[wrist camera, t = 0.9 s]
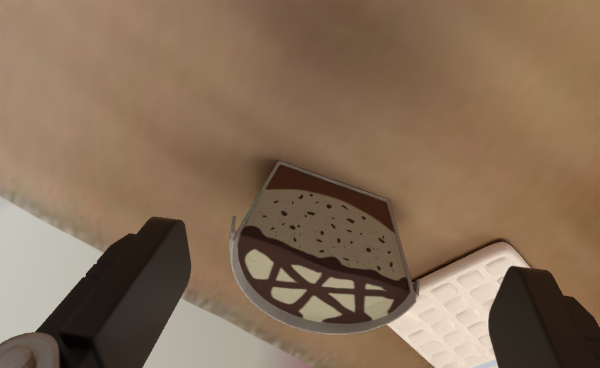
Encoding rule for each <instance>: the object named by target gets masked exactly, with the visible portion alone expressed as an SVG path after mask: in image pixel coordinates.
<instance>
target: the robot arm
mask: <svg viewBox="0 0 600 368" xmlns="http://www.w3.org/2000/svg"><path fill="white" fill-rule="evenodd" d="M190 273H191V261H190V254H189V248H188V241H187V235H186V229H185V224H184V222H183V221H182V220H176V219H169V218H161V217H151V218H150V219H149V220H148V221H147V222H146V223H145V225H144V226H143V227H142V228H141V230H140V231H139V232H138V233H137V234H130V233H129V234H128V235H126V236H125V237H123V238H121V239H120V240H118V241H117V242H115V243H114V244H112V245H111V246H110V247H109V248H108V249H107V250H106V251H105V252H104V254H103V255H102V256H101V257H100V258H99V259H98V260H97V264H94V265H93V267H92V268H91V269H90V270H89V271H88V272H87V273H86V277H83V278H82V279H81V280H80V281H79V282H78V284H77V285H76V286H75V287H74V288H73V289H72V290H71V292H70V293H69V294H68V295H67V296H66V297H65V299H64V300H63V301H62V302H61V303H60V304H59V305H58V307H57V308H56V309H55V310H54V311H53V313H52V314H51V315H50V316H49V317H48V318H47V319H46V321H45V322H44V323H43V324H42V325H41V326H40V327H39V328H38V329H37V330H36V331H35V332H32V333H25V334H22V335H18V336H15V337H12V338H10V339H8V340H6V341H4V342H2V343H1V344H0V368H142V367H143V366H144V364H145V362H146V360H147V358H148V356H149V354H150V353H151V351H152V349H153V347H154V345H155V343H156V342H157V340H158V338H159V336H160V334H161V333H162V331H163V329H164V327H165V325H166V323H167V322H168V320H169V318H170V316H171V314H172V312H173V311H174V309H175V307H176V305H177V303H178V302H179V299H180V298H181V296H182V294H183V292H184V291H185V289H186V287H187V284H188V282H189V278H190ZM488 330H489V336H490V340H491V343H492V347H493V350H494V354H495V357H496V361H497V365H498V368H600V327H599V326H598V324H597V322H596V320H595V319H594V317H593V316H592V315H591V314H590V313H589V312H588V311H587V310H586V309H585V308H584V307H583V306H582V305H581V304H580V303H579V302H578V301H577V300H575V299H574V298H573V297H569V296H563V294H562V292H561V290H560V289H559V287H558V285H557V283H556V281H555V279H554V277H553V275H552V274H551V273H550V272H549V271H547V270H541V269H533V268H526V267H519V266H511V267H509V268H508V270H507V272H506V274H505V276H504V278H503V281H502V283H501V285H500V288H499V290H498V292H497V295H496V297H495V299H494V302H493V304H492V306H491V309H490V312H489V318H488Z"/></svg>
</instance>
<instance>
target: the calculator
mask: <svg viewBox="0 0 600 368" xmlns="http://www.w3.org/2000/svg"><path fill="white" fill-rule="evenodd" d="M511 266H519V267H526V268H530V267H529V265H528V264H527V263H526V262H525V261H524V259H523V258H522V257H521V256H520V255H519V253H518V252H517V251H516V250H515V249H514V248H513V247H512V246H511V245H509V244H508V243H505V242H498V243H494V244H491V245H489V246H487V247H485V248H483V249H480V250H478V251H476V252H474V253H472V254H470V255H468V256H466V257H464V258H462V259H460V260H458V261H456V262H454V263H452V264H450V265H448V266H446V267H443V268H441V269H439V270H437V271H435V272H433V273H431V274H429V275H427V276H425V277H423V278H421V279H420V286H419V296H418V297H417V298H416V303H415V304H414V306H413V307H412V308H411V309H410V310H409V311H407V312H406V313H405V314H404V315H402V316H401V317H400V318H398V319H396V320H394V321H393V322H391V323H389V324H387V325H388V326H389V327H390V328H391V329H393V330H394V331H395V332H396V333H397V334H398V335H399V336H400V337H401V338H403V339H404V340H405V341H406V342H407V343H408V344H409V345H410V346H411V347H413V348H414V349H415V350H416V351H417V352H418V353H419V354H420V355H421V356H423V357H424V358H425V359H426V360H427V361H428V362H429V363H430V364H432V365H433V366H434V367H435V368H498V365H497V361H496V357H495V354H494V350H493V347H492V343H491V340H490V336H489V330H488V318H489V312H490V309H491V306H492V304H493V302H494V299H495V297H496V295H497V292H498V290H499V288H500V285H501V283H502V281H503V278H504V276H505V274H506V272H507V270H508V268H509V267H511ZM413 283H414V282H413ZM413 283H412V284H413Z"/></svg>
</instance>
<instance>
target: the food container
mask: <svg viewBox="0 0 600 368" xmlns="http://www.w3.org/2000/svg"><path fill="white" fill-rule="evenodd" d="M235 220H236V216H233V219H232V224H231V232H230V241H229V255H230V260H231V265H232V270H233V274H234V276H235V279H236V281H237V283H238V285H239V287H240V288H241V290H242V291H243V293H244V294H245V295H246V296H247V298H248V299H249V300H250V301H251V302H252V303H253V304H254V305H255V306H256V307H258V308H259V309H260V310H261V311H263V312H264V313H266V314H267V315H269V316H270V317H272V318H274V319H276V320H277V321H279V322H281V323H283V324H286V325H289V326H291V327H294V328H297V329H300V330H304V331H308V332H314V333H320V334H332V335H343V334H355V333H362V332H366V331H370V330H374V329H377V328H379V327H382V326H385V325H387V324H389V323H391V322H393V321H394V320H396V319H398V318H400V317H401V316H402V315H404V314H405V313H406V312H407V311H409V310H410V309H411V308H412V307H413V306H414V304H415V303H416V298H417V297H418V296H419V286H420V279H417V280H416V281H415V282H414V283H413V284H412V281H411V277H410V273H409V270H408V266H407V263H406V259H405V255H404V252H403V248H402V244H401V241H400V237H399V234H398V230H397V226H396V223H395V219H394V215H393V212H392V208H391V204H390V201H389V200H388V199H386V198H383V197H380V196H377V195H374V194H372V193H369V192H366V191H363V190H360V189H358V188H355V187H352V186H349V185H346V184H344V183H341V182H338V181H335V180H332V179H330V178H327V177H324V176H321V175H318V174H316V173H313V172H310V171H307V170H304V169H302V168H299V167H296V166H293V165H290V164H288V163H285V162H282V161H279V160H278V162H277V163H276V165H275V167H274V168H273V170H272V172H271V174H270V175H269V177H268V179H267V180H266V182H265V184H264V186H263V187H262V189H261V191H260V192H259V194H258V196H257V197H256V199H255V201H254V203H253V204H252V206H251V208H250V209H249V211H248V213H247V215H246V216H245V218H244V220H243V221H242V223H241V225H240V227H239V228H238V230H237V231H235Z"/></svg>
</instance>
